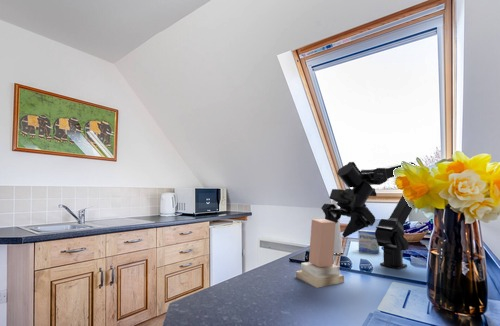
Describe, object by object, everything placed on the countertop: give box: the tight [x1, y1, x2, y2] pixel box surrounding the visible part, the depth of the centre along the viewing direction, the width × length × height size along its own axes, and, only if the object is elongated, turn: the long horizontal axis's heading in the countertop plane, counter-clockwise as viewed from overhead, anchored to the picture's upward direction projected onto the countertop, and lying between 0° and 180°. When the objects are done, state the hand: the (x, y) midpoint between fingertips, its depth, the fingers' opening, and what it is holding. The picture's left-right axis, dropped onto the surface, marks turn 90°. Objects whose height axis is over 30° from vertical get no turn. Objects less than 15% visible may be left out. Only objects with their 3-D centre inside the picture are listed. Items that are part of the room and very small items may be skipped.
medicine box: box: [357, 229, 380, 254], centre depth 122 cm, size 8×4×9 cm, turn 62°
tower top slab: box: [300, 261, 341, 279], centre depth 87 cm, size 8×8×2 cm
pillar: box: [308, 218, 336, 267], centre depth 87 cm, size 5×5×13 cm
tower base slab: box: [295, 269, 345, 289], centre depth 87 cm, size 10×10×2 cm
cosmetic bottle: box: [330, 199, 344, 254], centre depth 120 cm, size 6×6×22 cm
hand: (332, 233), depth 90 cm, fingers open, 9 cm apart
